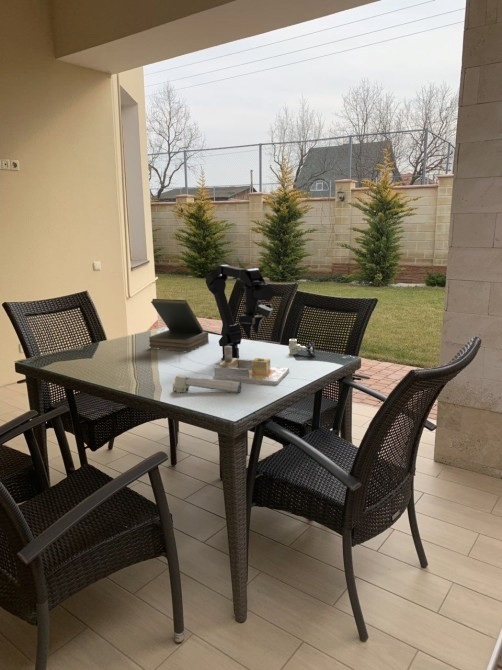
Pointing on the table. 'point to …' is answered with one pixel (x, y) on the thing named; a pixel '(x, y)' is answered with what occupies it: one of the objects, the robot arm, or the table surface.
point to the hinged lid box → (178, 327)
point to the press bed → (249, 373)
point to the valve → (300, 347)
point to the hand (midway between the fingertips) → (253, 335)
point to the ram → (229, 358)
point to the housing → (260, 366)
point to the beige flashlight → (205, 384)
